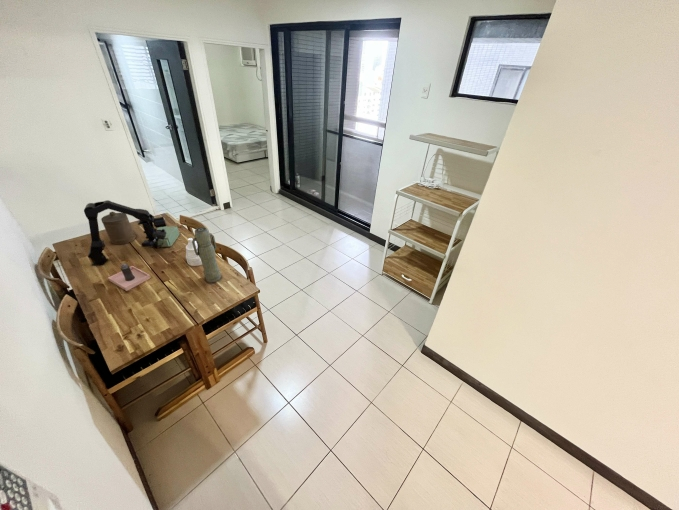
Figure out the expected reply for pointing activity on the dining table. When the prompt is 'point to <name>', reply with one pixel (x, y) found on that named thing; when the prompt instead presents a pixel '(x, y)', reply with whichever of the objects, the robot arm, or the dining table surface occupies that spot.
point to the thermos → (207, 254)
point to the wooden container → (118, 228)
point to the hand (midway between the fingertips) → (156, 248)
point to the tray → (128, 285)
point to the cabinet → (170, 233)
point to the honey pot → (192, 254)
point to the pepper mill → (127, 272)
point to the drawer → (163, 243)
